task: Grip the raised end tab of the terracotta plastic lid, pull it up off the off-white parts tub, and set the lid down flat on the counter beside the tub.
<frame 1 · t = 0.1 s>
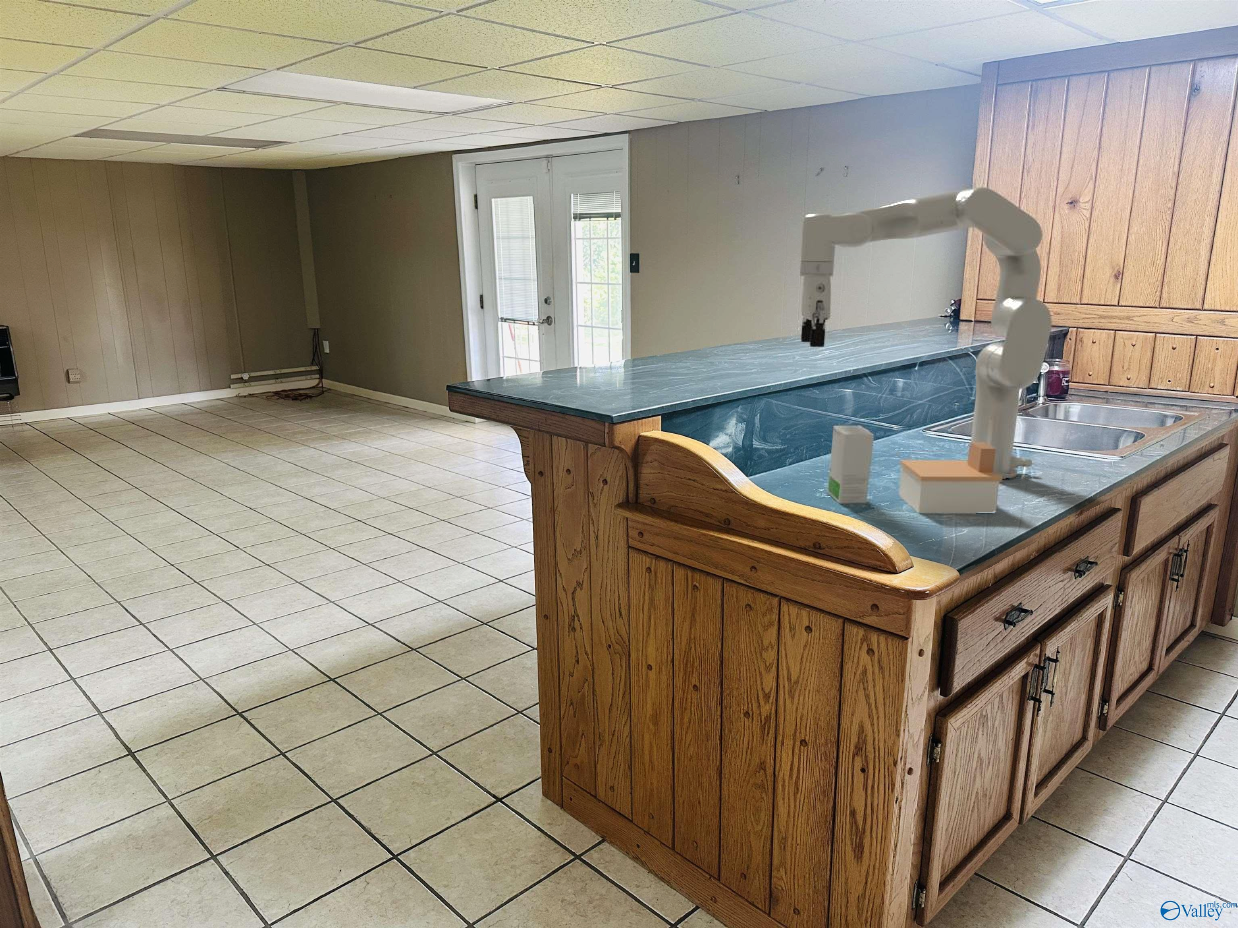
hand: (812, 344, 201), 31 cm above the worktop, tool pointing down, fingers open, 9 cm apart
skincare box: (847, 499, 188), on the worktop
lid: (948, 472, 182), point 7 cm above the worktop, touching tub
tub: (945, 504, 184), on the worktop
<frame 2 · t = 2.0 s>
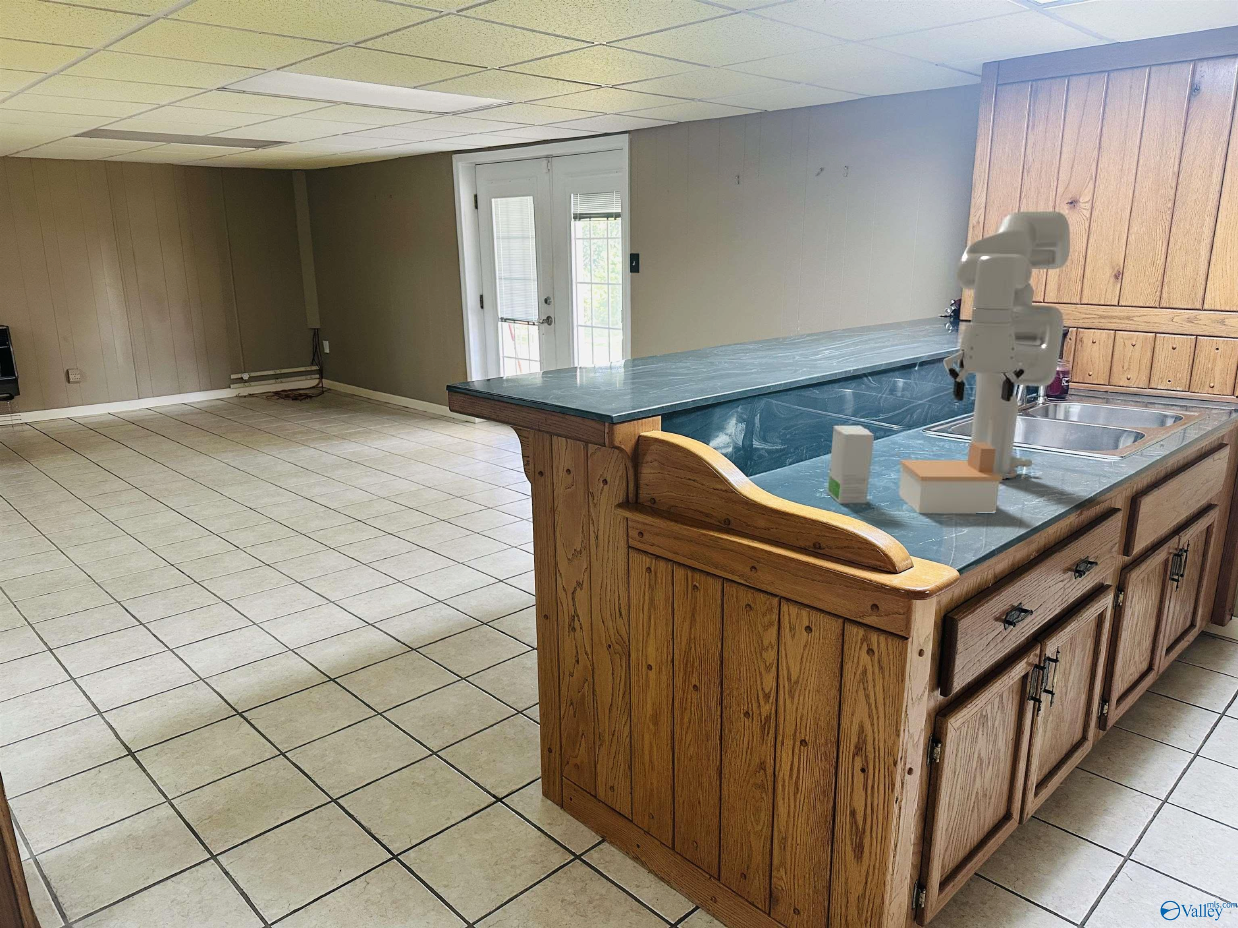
hand: (982, 400, 179), 23 cm above the worktop, tool pointing down, fingers open, 9 cm apart
nothing on the worktop moved.
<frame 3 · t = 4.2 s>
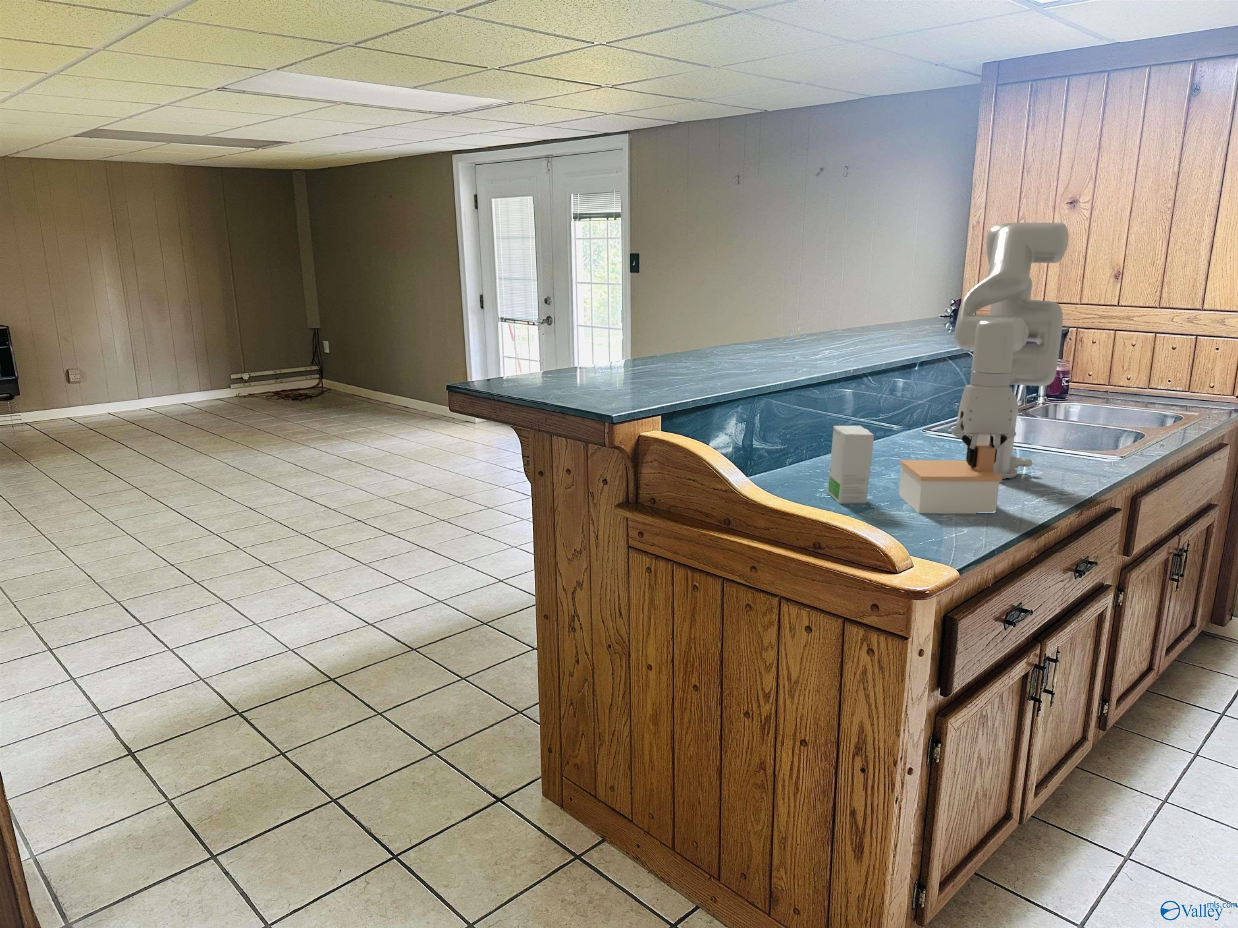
hand: (980, 465, 182), 9 cm above the worktop, tool pointing down, fingers closed on lid, 3 cm apart
lid: (948, 472, 182), point 7 cm above the worktop, touching gripper
everything else where it was.
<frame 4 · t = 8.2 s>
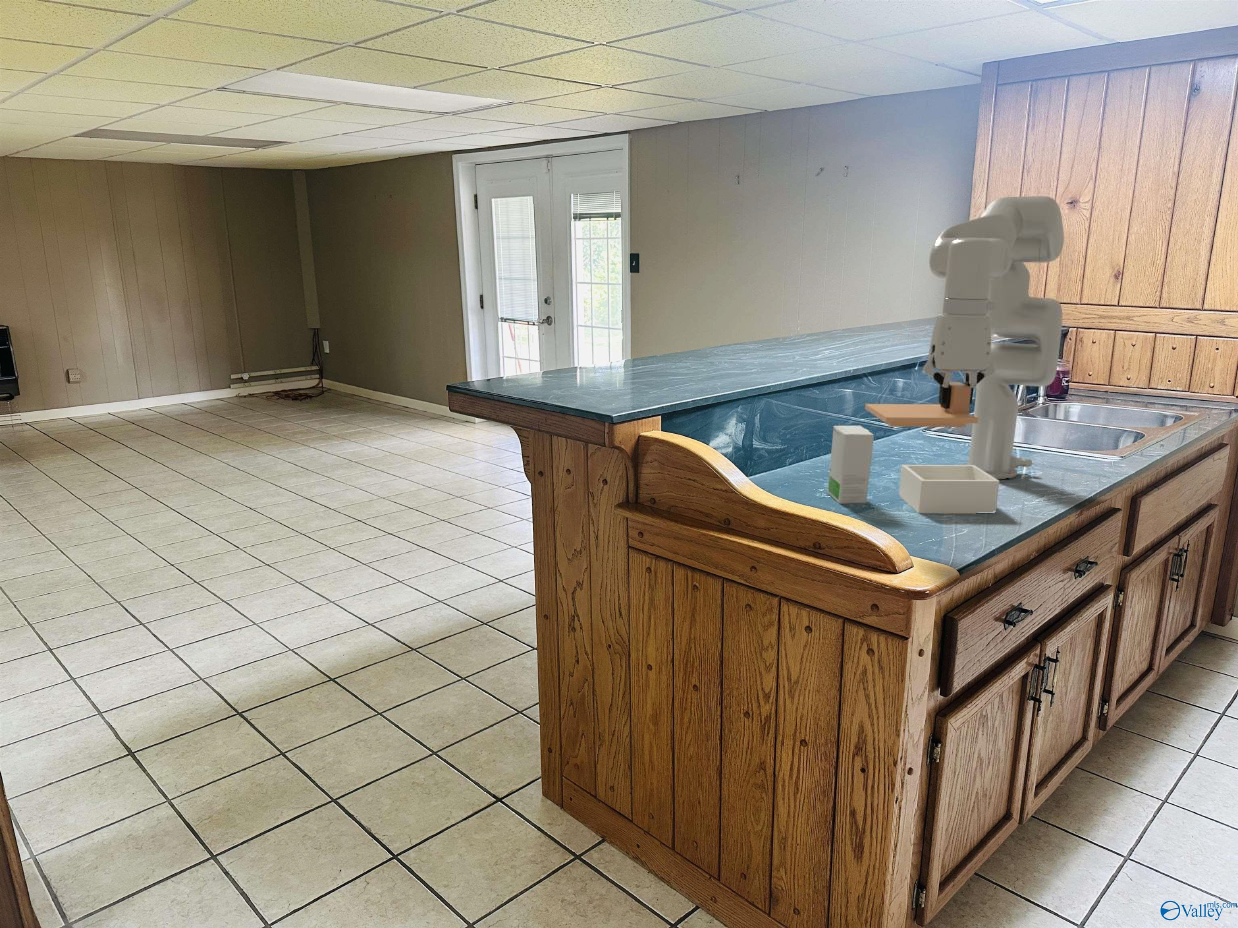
hand: (954, 406, 161), 25 cm above the worktop, tool pointing down, fingers closed on lid, 3 cm apart
lid: (919, 415, 161), point 23 cm above the worktop, touching gripper
everything else where it was.
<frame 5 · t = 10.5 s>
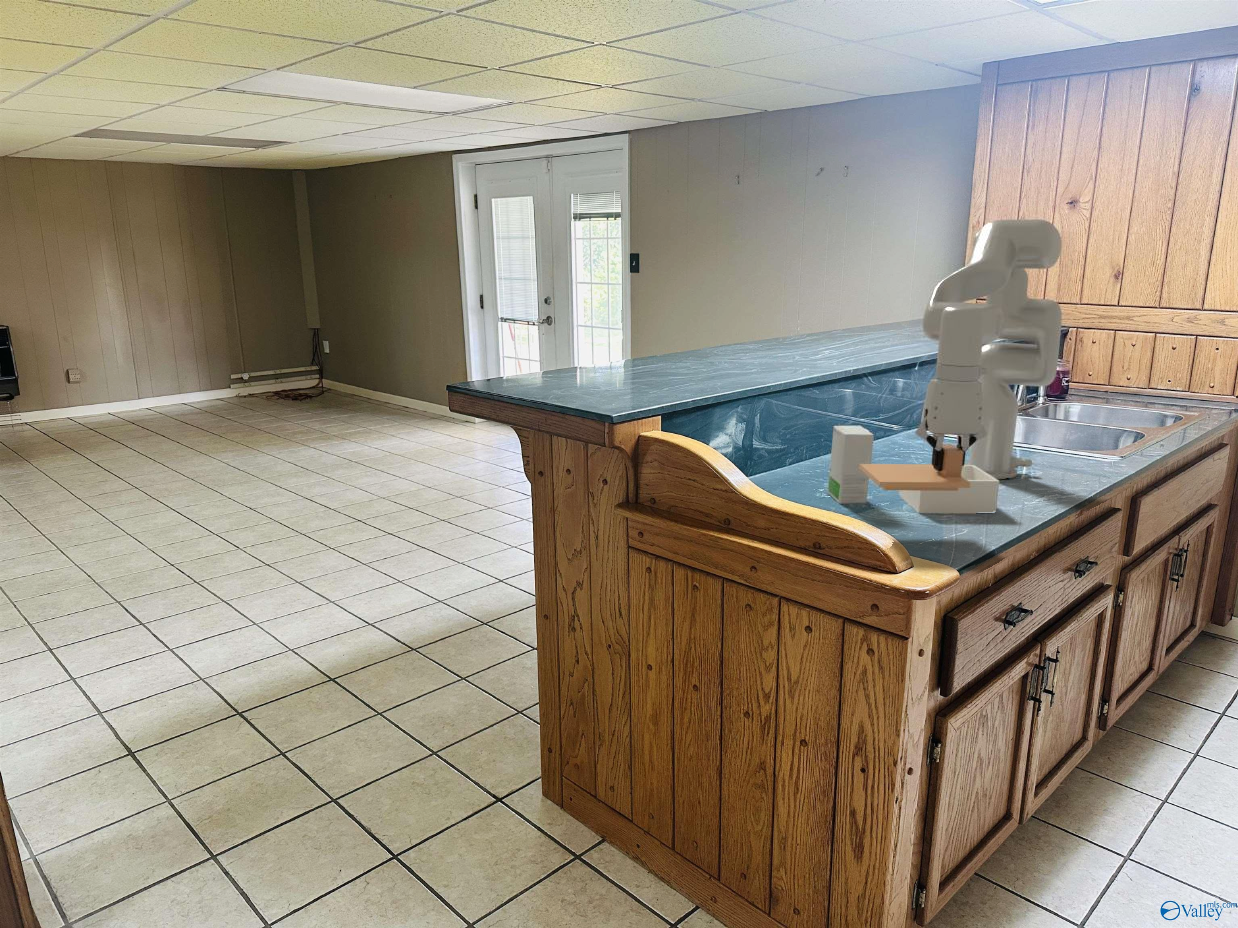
hand: (947, 468, 163), 13 cm above the worktop, tool pointing down, fingers closed on lid, 3 cm apart
lid: (912, 477, 164), point 11 cm above the worktop, touching gripper
everything else where it was.
when the fingers open (5 cm above the worktop, at t = 12.3 s): lid drops 2 cm, point 1 cm above the worktop.
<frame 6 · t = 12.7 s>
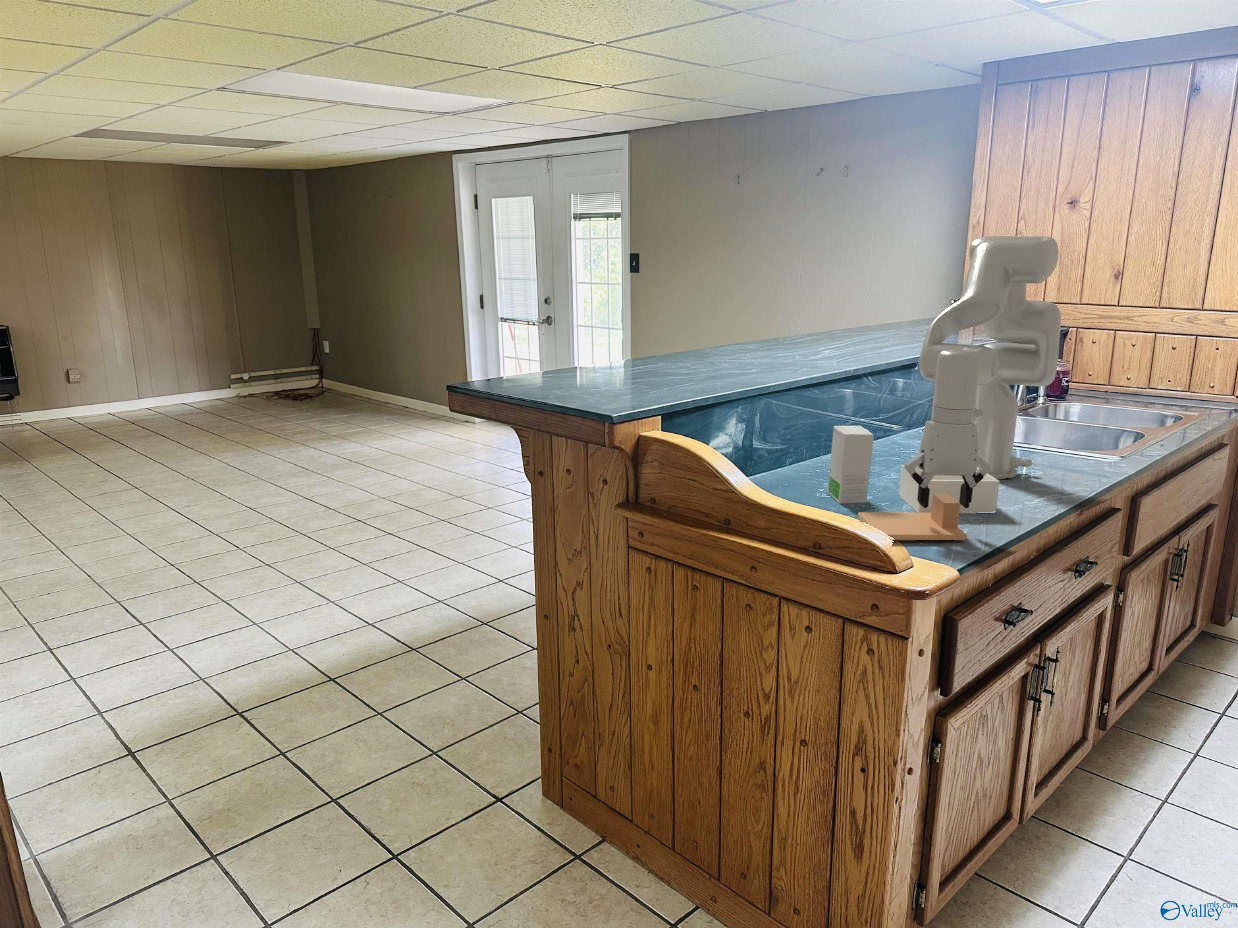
hand: (943, 505, 165), 5 cm above the worktop, tool pointing down, fingers open, 7 cm apart
lid: (909, 527, 167), point 1 cm above the worktop
everything else where it was.
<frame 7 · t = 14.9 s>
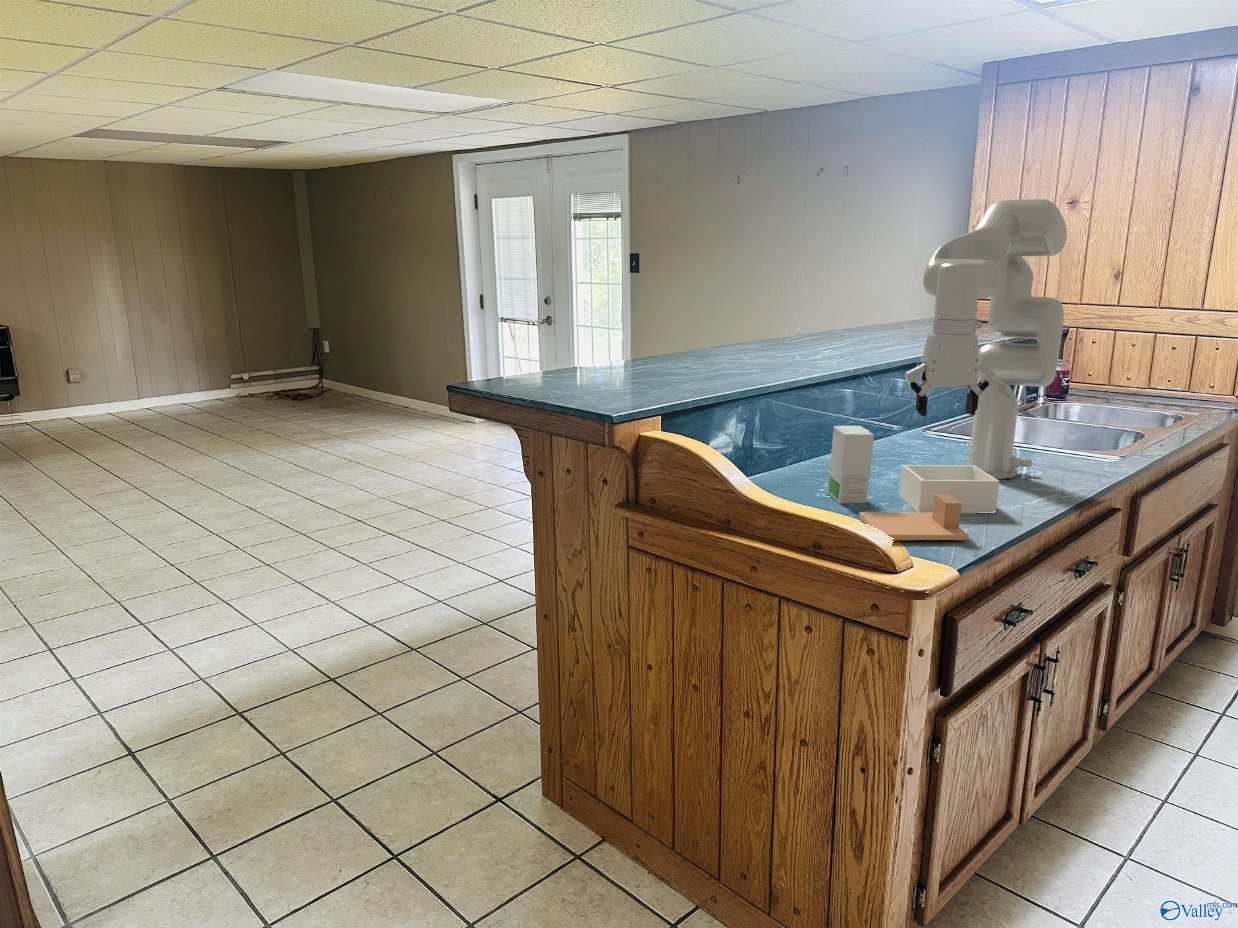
hand: (945, 414, 170), 21 cm above the worktop, tool pointing down, fingers open, 9 cm apart
nothing on the worktop moved.
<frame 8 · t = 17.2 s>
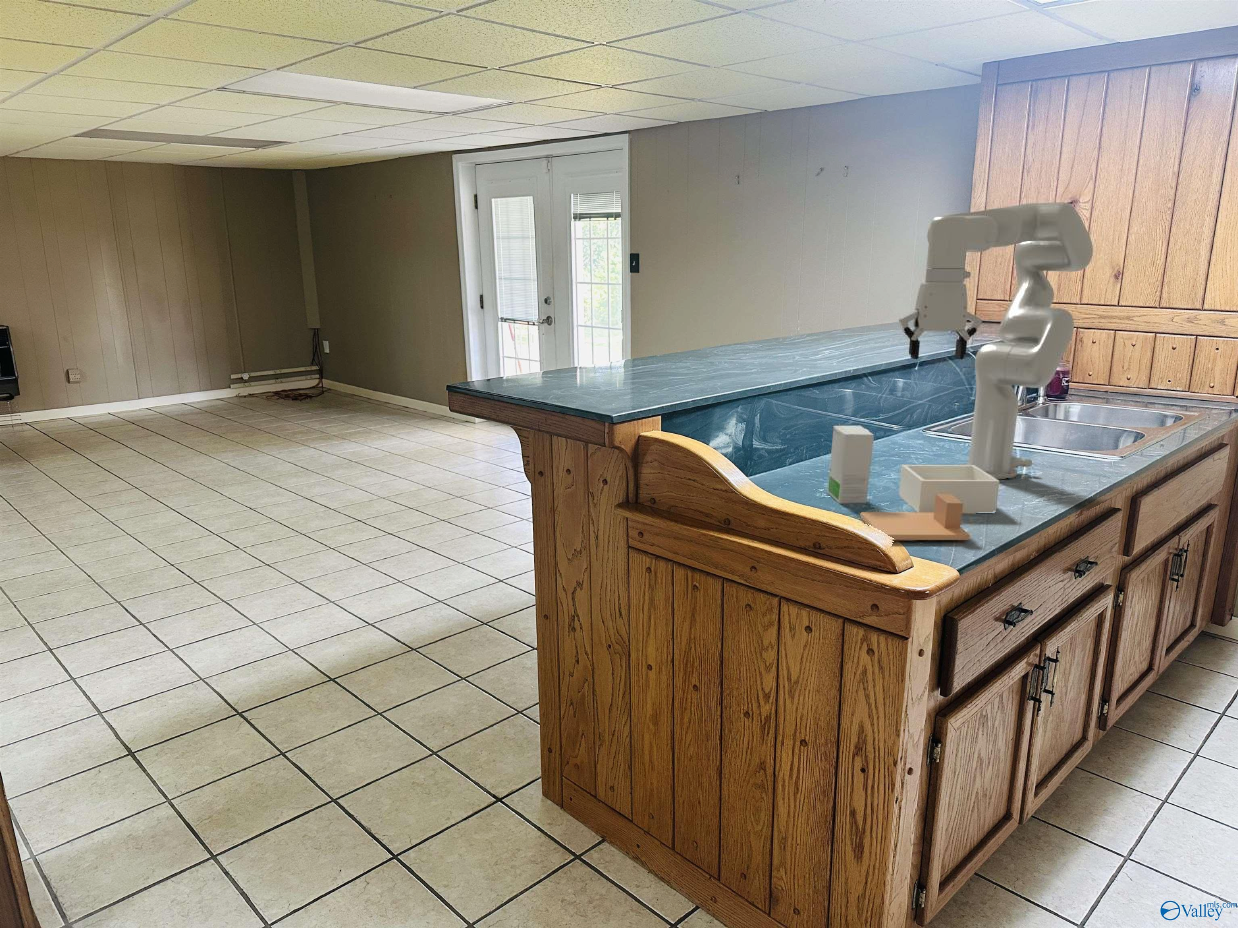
hand: (936, 358, 184), 30 cm above the worktop, tool pointing down, fingers open, 9 cm apart
nothing on the worktop moved.
at the end: lid inside the target area (1.0 cm from its centre), point 0.6 cm above the worktop; lid touching worktop; lid tilted 0° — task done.
